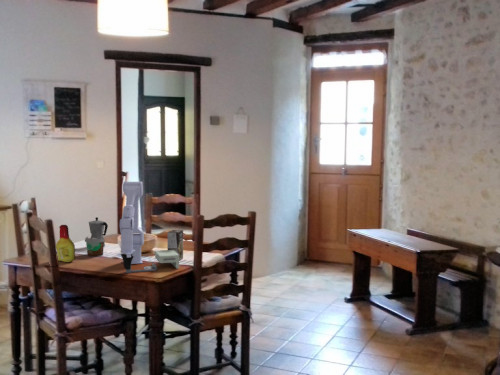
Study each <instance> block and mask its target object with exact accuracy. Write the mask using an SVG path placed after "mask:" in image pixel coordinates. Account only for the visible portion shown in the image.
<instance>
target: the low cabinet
mask: <svg viewBox="0 0 500 375" xmlns="http://www.w3.org/2000/svg"><path fill="white" fill-rule="evenodd" d="M154 258H155V259H156V261H157V262H158V263H159V264H164V263H167V264H168V263H170V264H171V265H172V266H173V268H175V269H180V261H179V255H178V254H177V253H176V252H175V251H174V250H168V249H163V250H154Z"/></svg>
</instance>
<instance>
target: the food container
mask: <svg viewBox="0 0 500 375" xmlns="http://www.w3.org/2000/svg"><path fill="white" fill-rule="evenodd" d="M105 241H106V240H105V237H103V238H101V239H98V238H91V237H89V236H85V238H84V242H85V243H86V244H85V245H86V246H85V247H86V253H87V254H86V256H89V257H101V256H103V255H104V248H105V246H104V243H105Z"/></svg>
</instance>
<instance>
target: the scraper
mask: <svg viewBox="0 0 500 375" xmlns="http://www.w3.org/2000/svg"><path fill="white" fill-rule="evenodd" d="M151 266H153V267H154V269H144V268H143V269H132V265H131V266H130V269H129V270H126V269H125V273H126V274H131V273H143V272H156V271H157V270H158V266H157V265H156V263H154V262H152V263H151Z"/></svg>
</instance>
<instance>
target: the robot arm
mask: <svg viewBox="0 0 500 375" xmlns="http://www.w3.org/2000/svg"><path fill="white" fill-rule="evenodd" d="M122 192H123V194H124V195H125V197H126V198H125V200H126V201H125V205H124V206H123V208H122V214H121V218H120V219H119V232H120V253H121V254H120V255H121V258H122V261H123V262H122V263H123V267H124V269H125V271H126V270H129V269H130V266H131V267H132V265H134V264H137V265H138V264H143V263H144V262H143V260H142V246H144V245H145V235H144V234H145V233H144V230H143V229H141V228H140V227H139V221H140V218H139V215H140V214H139V212H140V210H139V208H140V206H139V204H140V202H139V201H140V198H141V197H143V194H144V184H143V181H127V180H126V181H123V183H122Z"/></svg>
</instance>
